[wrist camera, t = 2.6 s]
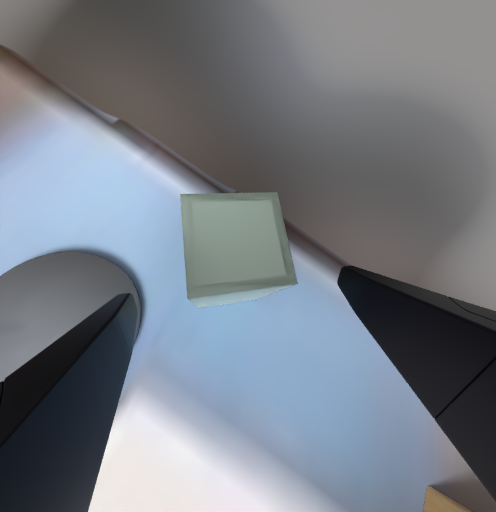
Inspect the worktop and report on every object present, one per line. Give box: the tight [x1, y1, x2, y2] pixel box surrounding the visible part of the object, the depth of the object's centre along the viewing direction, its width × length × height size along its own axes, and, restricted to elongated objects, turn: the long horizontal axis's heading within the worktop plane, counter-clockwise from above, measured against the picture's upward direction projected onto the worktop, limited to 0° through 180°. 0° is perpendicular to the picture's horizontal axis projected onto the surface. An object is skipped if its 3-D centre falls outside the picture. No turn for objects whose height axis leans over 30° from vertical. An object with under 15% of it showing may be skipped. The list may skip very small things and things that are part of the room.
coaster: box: [0, 252, 141, 382], centre depth 14 cm, size 11×11×1 cm
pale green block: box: [180, 192, 298, 308], centre depth 14 cm, size 5×5×9 cm
